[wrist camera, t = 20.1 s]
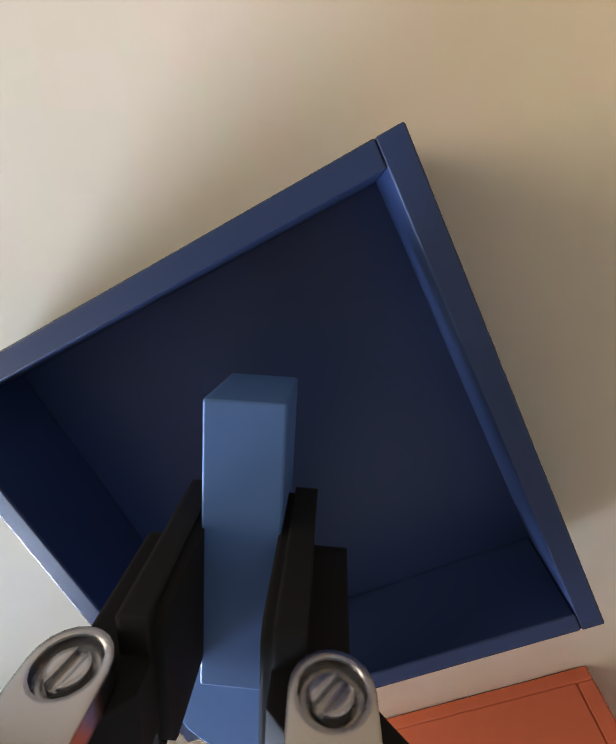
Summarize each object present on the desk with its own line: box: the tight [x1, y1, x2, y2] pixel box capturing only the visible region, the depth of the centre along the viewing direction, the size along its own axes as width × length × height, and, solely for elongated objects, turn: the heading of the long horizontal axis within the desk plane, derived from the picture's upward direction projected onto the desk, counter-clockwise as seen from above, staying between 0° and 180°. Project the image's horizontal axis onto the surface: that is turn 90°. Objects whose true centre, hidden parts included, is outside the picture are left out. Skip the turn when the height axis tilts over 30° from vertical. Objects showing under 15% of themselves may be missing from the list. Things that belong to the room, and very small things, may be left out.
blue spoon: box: [183, 373, 298, 744], centre depth 10 cm, size 10×4×2 cm, turn 177°
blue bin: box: [0, 122, 604, 742], centre depth 13 cm, size 13×13×4 cm
